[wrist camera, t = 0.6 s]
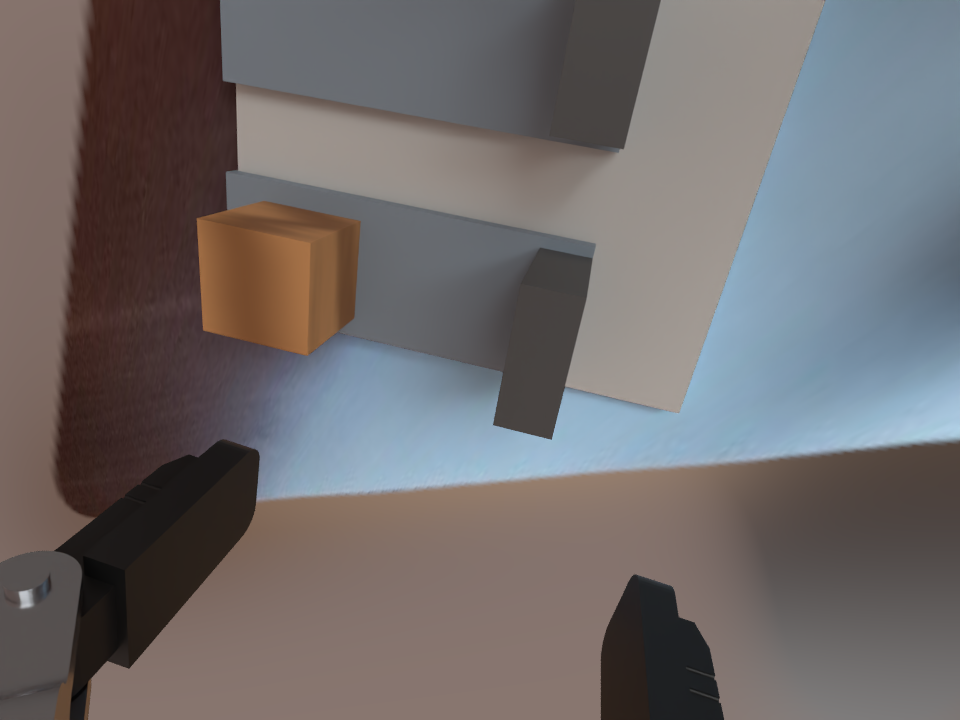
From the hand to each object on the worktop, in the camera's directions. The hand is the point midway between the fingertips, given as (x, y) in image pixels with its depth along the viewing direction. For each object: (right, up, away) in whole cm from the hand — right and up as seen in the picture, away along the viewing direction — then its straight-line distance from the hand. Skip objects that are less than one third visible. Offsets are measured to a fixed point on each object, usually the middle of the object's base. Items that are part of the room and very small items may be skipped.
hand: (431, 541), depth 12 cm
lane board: (+1, +13, +15) cm, 20 cm away
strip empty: (-1, +18, +12) cm, 22 cm away
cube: (-7, +9, +17) cm, 20 cm away
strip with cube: (-3, +8, +17) cm, 19 cm away
